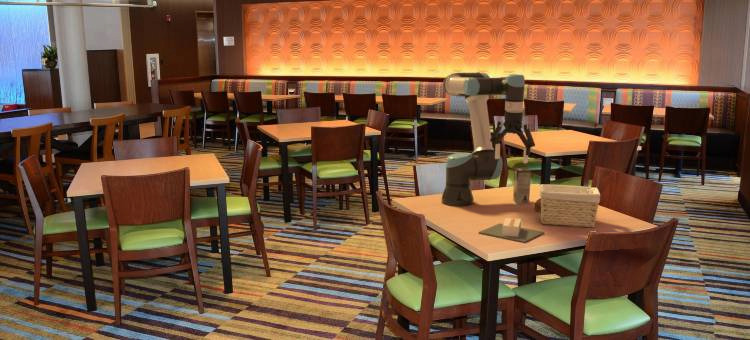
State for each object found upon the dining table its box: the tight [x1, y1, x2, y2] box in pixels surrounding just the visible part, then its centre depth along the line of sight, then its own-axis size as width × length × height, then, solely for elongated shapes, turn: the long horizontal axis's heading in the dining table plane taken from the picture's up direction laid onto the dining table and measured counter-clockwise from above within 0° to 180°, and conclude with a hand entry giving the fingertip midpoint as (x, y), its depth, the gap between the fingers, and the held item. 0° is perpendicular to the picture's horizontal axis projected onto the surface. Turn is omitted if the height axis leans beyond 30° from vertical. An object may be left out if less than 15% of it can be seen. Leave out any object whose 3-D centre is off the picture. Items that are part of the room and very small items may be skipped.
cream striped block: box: [502, 217, 522, 237], centre depth 259 cm, size 12×6×4 cm, turn 163°
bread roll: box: [533, 197, 541, 213], centre depth 297 cm, size 10×10×8 cm
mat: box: [478, 222, 545, 244], centre depth 260 cm, size 20×17×1 cm
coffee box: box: [512, 167, 532, 206], centre depth 311 cm, size 9×6×16 cm
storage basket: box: [539, 183, 601, 228], centre depth 275 cm, size 24×16×15 cm
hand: (511, 160), depth 281 cm, fingers open, 13 cm apart
